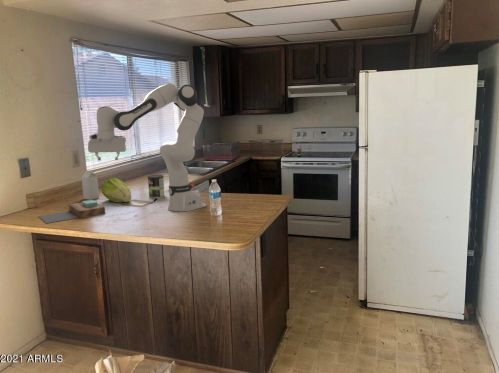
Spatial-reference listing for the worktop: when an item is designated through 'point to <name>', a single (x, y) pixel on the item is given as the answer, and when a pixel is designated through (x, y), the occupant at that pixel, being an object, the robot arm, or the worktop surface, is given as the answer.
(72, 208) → the board
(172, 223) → the worktop surface
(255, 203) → the worktop surface
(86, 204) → the teal block
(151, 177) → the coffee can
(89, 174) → the milk carton
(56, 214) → the grey mat
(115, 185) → the lettuce
